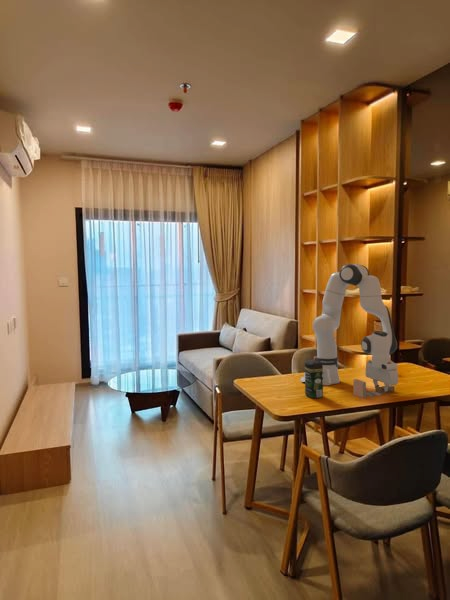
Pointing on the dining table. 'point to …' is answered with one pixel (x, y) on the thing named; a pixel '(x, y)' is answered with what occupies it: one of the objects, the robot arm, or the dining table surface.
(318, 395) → the coffee jar
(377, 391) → the turner
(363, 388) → the tile
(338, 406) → the dining table surface
